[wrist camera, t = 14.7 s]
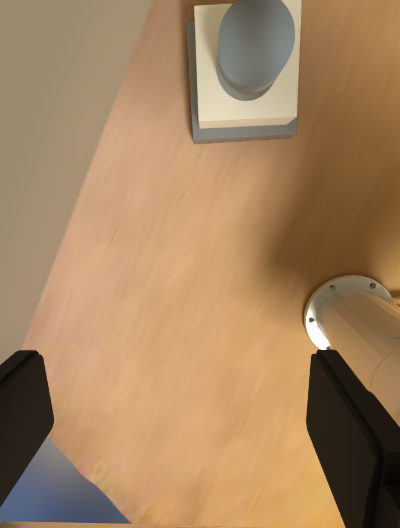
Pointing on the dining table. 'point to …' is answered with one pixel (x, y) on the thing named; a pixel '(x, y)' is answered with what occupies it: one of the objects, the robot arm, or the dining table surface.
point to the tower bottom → (226, 132)
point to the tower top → (224, 106)
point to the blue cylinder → (253, 47)
